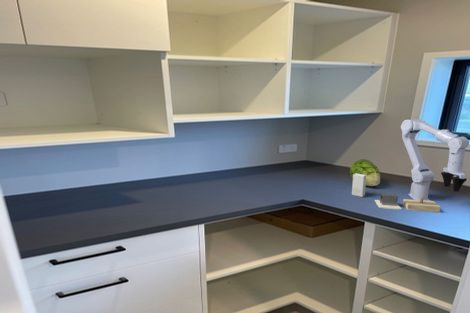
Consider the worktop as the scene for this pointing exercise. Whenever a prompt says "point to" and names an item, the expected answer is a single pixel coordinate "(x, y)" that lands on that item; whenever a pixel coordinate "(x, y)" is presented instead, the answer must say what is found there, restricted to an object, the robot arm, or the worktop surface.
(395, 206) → the tile
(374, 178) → the lettuce
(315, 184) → the worktop surface
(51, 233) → the worktop surface
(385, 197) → the grey notched block
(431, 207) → the body
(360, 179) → the skincare box
